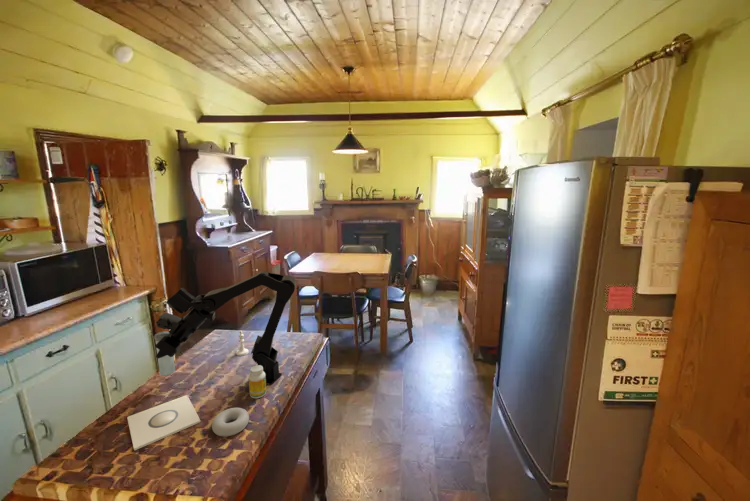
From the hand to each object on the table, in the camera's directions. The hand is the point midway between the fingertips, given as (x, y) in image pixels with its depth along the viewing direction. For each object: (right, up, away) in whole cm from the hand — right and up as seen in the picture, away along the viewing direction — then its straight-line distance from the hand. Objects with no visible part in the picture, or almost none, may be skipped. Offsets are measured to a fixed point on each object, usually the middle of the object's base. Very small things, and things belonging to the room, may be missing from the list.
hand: (160, 353), depth 110 cm
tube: (+1, -7, +2) cm, 7 cm away
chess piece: (+17, -8, +26) cm, 32 cm away
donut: (+31, -17, -15) cm, 38 cm away
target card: (+10, -16, -13) cm, 23 cm away
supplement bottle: (+33, -14, -1) cm, 36 cm away
